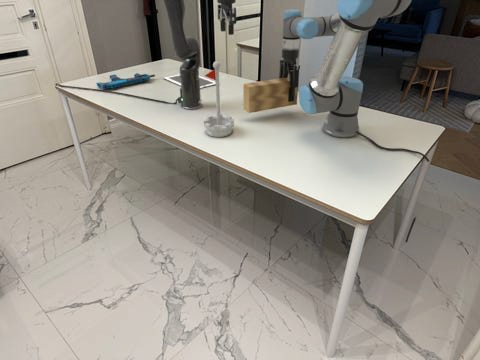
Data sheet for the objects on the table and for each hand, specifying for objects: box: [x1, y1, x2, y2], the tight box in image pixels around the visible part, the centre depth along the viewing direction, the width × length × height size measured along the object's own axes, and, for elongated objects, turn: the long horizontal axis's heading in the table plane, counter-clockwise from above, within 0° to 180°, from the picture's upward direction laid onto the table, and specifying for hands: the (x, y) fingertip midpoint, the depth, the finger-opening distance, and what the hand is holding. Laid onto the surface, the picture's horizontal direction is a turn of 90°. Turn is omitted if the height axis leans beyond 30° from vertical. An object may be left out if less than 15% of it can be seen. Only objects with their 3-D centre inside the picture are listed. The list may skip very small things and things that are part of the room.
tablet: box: [163, 73, 216, 89], centre depth 211 cm, size 32×20×1 cm, turn 41°
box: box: [243, 76, 299, 114], centre depth 158 cm, size 26×6×12 cm, turn 115°
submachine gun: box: [95, 72, 156, 90], centre depth 209 cm, size 34×4×25 cm
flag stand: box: [203, 60, 235, 138], centre depth 141 cm, size 13×13×30 cm
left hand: (227, 32), depth 146 cm, fingers open, 8 cm apart
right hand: (287, 99), depth 163 cm, fingers closed on box, 6 cm apart
